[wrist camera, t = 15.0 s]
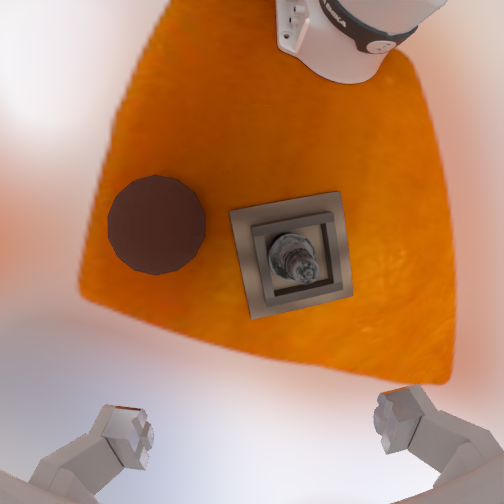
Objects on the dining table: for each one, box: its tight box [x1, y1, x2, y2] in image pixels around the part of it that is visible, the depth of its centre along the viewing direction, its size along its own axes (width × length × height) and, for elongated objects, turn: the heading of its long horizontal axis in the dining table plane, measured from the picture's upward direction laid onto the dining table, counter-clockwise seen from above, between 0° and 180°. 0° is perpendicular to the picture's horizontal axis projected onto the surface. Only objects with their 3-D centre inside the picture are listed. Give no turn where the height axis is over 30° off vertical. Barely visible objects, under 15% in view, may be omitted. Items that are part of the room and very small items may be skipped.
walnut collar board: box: [229, 191, 353, 319], centre depth 40 cm, size 15×15×4 cm
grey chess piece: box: [267, 232, 319, 285], centre depth 34 cm, size 6×6×12 cm
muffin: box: [108, 175, 205, 275], centre depth 34 cm, size 12×11×10 cm
